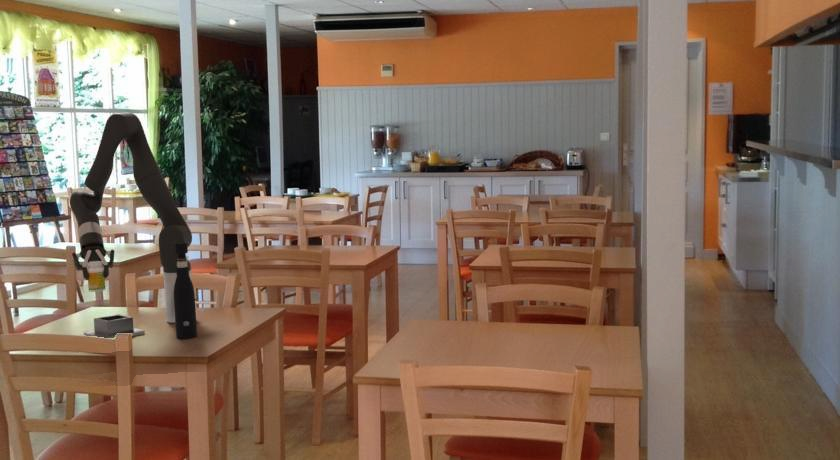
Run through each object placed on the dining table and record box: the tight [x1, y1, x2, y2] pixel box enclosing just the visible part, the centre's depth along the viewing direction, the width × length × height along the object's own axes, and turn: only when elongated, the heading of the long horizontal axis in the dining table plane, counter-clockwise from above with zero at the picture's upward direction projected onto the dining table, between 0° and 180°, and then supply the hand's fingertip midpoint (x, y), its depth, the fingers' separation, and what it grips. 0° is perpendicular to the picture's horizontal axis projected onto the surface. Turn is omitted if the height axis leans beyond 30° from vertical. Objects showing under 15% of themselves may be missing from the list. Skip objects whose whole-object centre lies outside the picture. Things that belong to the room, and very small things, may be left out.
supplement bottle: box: [87, 261, 106, 293], centre depth 326 cm, size 5×5×10 cm
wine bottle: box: [174, 242, 198, 340], centre depth 309 cm, size 6×6×30 cm
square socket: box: [83, 313, 146, 338], centre depth 318 cm, size 14×14×6 cm
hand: (96, 277), depth 325 cm, fingers closed on supplement bottle, 5 cm apart
